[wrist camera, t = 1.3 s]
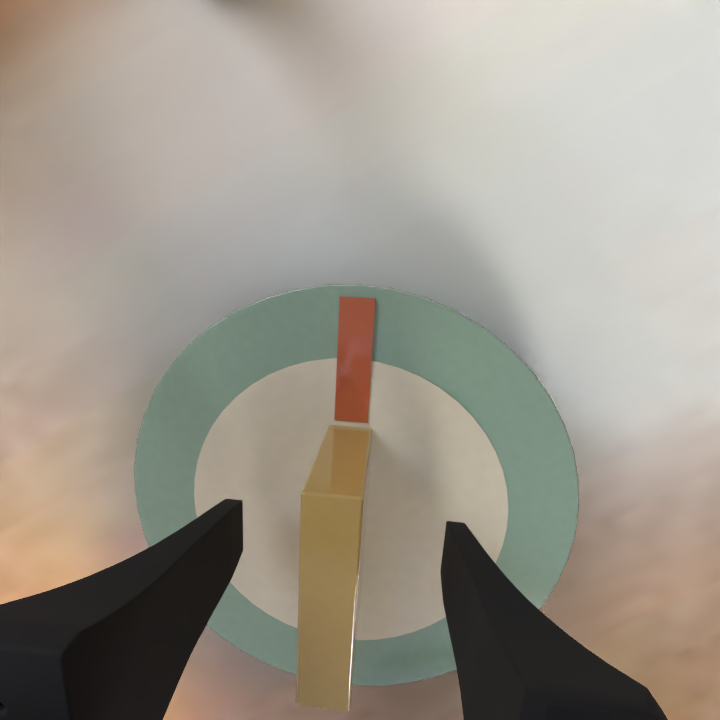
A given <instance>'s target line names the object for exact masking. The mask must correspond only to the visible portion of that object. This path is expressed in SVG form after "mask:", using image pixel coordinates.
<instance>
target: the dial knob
mask: <svg viewBox="0 0 720 720" xmlns="http://www.w3.org/2000/svg"><path fill="white" fill-rule="evenodd" d="M134 477H135V495H136V501H137V508H138V514H139V517H140V521H141V524H142V528H143V531H144V534H145V538H146V540H147V542H148V545H149V547H151V546H153V545H155V544H156V543H158V542H160V541H161V540H163V539H164V538H166V537H168V536H169V535H171V534H173V533H174V532H176V531H178V530H179V529H181V528H182V527H184V526H185V525H187V524H188V523H190V522H191V521H193V520H194V519H196V518H197V517H199V516H200V515H202V514H203V513H205V512H206V511H208V510H209V509H211V508H212V507H214V506H215V505H217V504H218V503H220V502H221V501H223V500H225V499H235V500H243V552H242V554H241V557H240V560H239V562H238V565H237V567H236V570H235V572H234V574H233V577H232V579H231V581H230V583H229V585H228V586H227V588H226V590H225V592H224V594H223V596H222V597H221V599H220V601H219V603H218V605H217V607H216V608H215V610H214V612H213V614H212V616H211V617H210V619H209V621H208V623H207V626H208V627H209V628H211V629H212V630H213V631H214V632H215V633H217V634H218V635H219V636H220V637H222V638H223V639H225V640H226V641H228V642H229V643H231V644H232V645H234V646H235V647H237V648H238V649H240V650H241V651H243V652H245V653H247V654H249V655H250V656H252V657H254V658H256V659H258V660H260V661H262V662H264V663H266V664H269V665H271V666H274V667H276V668H279V669H281V670H283V671H286V672H289V673H292V674H296V675H297V677H296V704H297V705H299V706H306V707H313V708H320V709H328V710H335V711H342V712H349V710H350V704H351V694H352V685H358V686H379V685H394V684H402V683H409V682H415V681H420V680H424V679H428V678H432V677H436V676H440V675H442V674H445V673H448V672H450V671H453V670H456V669H457V668H456V663H455V658H454V653H453V648H452V644H451V639H450V634H449V629H448V624H447V619H446V614H445V609H444V604H443V596H442V585H441V574H440V570H441V562H442V554H443V546H444V538H445V529H446V521H452V522H462V523H465V524H466V525H467V526H468V528H469V529H470V530H471V532H472V533H473V535H474V536H475V537H476V539H477V540H478V542H479V543H480V544H481V546H482V547H483V548H484V550H485V551H486V552H487V554H488V555H489V556H490V557H491V559H492V560H493V561H494V562H495V564H496V565H497V566H498V567H499V568H500V570H501V571H502V572H503V573H504V574H505V576H506V577H507V578H508V579H509V580H510V581H511V582H512V583H513V584H514V586H515V587H516V588H517V589H518V590H519V591H520V592H521V593H522V594H523V595H524V596H525V597H526V598H527V599H528V600H529V601H530V602H531V603H532V604H533V605H534V606H535V607H537V608H538V609H540V608H541V606H542V605H543V604H544V602H545V601H546V599H547V598H548V596H549V595H550V593H551V592H552V590H553V588H554V587H555V585H556V584H557V582H558V580H559V578H560V575H561V573H562V571H563V569H564V567H565V565H566V562H567V560H568V557H569V554H570V550H571V547H572V544H573V540H574V537H575V532H576V525H577V517H578V510H579V492H578V475H577V469H576V464H575V458H574V452H573V449H572V446H571V443H570V440H569V437H568V434H567V431H566V428H565V425H564V422H563V420H562V419H561V417H560V415H559V413H558V411H557V409H556V407H555V405H554V403H553V401H552V399H551V397H550V396H549V394H548V393H547V391H546V390H545V389H544V387H543V386H542V384H541V383H540V382H539V380H538V379H537V377H536V376H535V375H534V373H533V372H532V371H531V370H530V368H529V367H528V366H527V365H526V364H525V363H524V362H523V361H522V360H521V359H520V358H519V357H518V356H517V355H516V354H515V353H514V352H513V351H512V350H511V349H510V348H509V347H508V346H507V345H505V344H504V343H503V342H502V341H500V340H499V339H498V338H497V337H495V336H494V335H493V334H491V333H490V332H489V331H488V330H486V329H485V328H484V327H482V326H481V325H479V324H477V323H476V322H474V321H472V320H470V319H469V318H467V317H465V316H464V315H462V314H460V313H458V312H457V311H455V310H453V309H451V308H449V307H447V306H444V305H442V304H439V303H437V302H435V301H432V300H430V299H427V298H425V297H422V296H419V295H415V294H411V293H407V292H404V291H400V290H396V289H392V288H385V287H377V286H369V285H361V284H339V285H323V286H315V287H308V288H301V289H296V290H292V291H288V292H285V293H281V294H278V295H274V296H271V297H267V298H264V299H261V300H259V301H257V302H254V303H252V304H250V305H248V306H245V307H243V308H241V309H239V310H236V311H235V312H233V313H231V314H230V315H228V316H227V317H225V318H223V319H222V320H220V321H219V322H217V323H215V324H214V325H212V326H211V327H209V328H208V329H207V330H206V331H205V332H204V333H202V334H201V335H200V336H199V337H198V338H196V339H195V340H194V341H193V342H192V343H191V344H189V345H188V346H187V348H186V349H185V350H184V351H183V352H182V353H181V354H180V356H179V357H178V358H177V359H176V360H175V361H174V362H173V364H172V365H171V366H170V367H169V369H168V370H167V372H166V374H165V375H164V377H163V378H162V380H161V381H160V383H159V384H158V386H157V388H156V389H155V391H154V394H153V396H152V398H151V400H150V403H149V405H148V407H147V409H146V412H145V414H144V417H143V421H142V424H141V428H140V432H139V435H138V439H137V447H136V455H135V462H134Z"/></svg>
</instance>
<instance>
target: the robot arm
mask: <svg viewBox="0 0 720 720" xmlns="http://www.w3.org/2000/svg"><path fill="white" fill-rule="evenodd" d="M242 552H243V500H235V499H225V500H223V501H221V502H220V503H218V504H217V505H215V506H214V507H212V508H211V509H209V510H208V511H206V512H205V513H203V514H202V515H200V516H199V517H197V518H196V519H194V520H193V521H191V522H190V523H188V524H187V525H185V526H184V527H182V528H181V529H179V530H178V531H176V532H174V533H173V534H171V535H169V536H168V537H166V538H164V539H163V540H161V541H160V542H158V543H156V544H155V545H153V546H151V547H149V548H147V549H146V550H144V551H142V552H140V553H138V554H136V555H134V556H132V557H130V558H128V559H126V560H124V561H122V562H120V563H118V564H116V565H113V566H111V567H109V568H106V569H104V570H102V571H99V572H97V573H95V574H92V575H90V576H88V577H85V578H83V579H80V580H77V581H75V582H72V583H69V584H67V585H64V586H61V587H58V588H55V589H52V590H49V591H46V592H43V593H40V594H36V595H33V596H29V597H26V598H22V599H19V600H15V601H12V602H8V603H5V604H1V605H0V720H163V717H164V715H165V713H166V710H167V708H168V705H169V703H170V701H171V698H172V696H173V693H174V691H175V689H176V686H177V684H178V682H179V680H180V677H181V675H182V673H183V671H184V668H185V666H186V664H187V661H188V659H189V657H190V655H191V653H192V651H193V649H194V647H195V645H196V643H197V641H198V639H199V637H200V635H201V634H202V632H203V630H204V628H205V626H206V625H207V623H208V621H209V619H210V617H211V616H212V614H213V612H214V610H215V608H216V607H217V605H218V603H219V601H220V599H221V597H222V596H223V594H224V592H225V590H226V588H227V586H228V585H229V583H230V581H231V579H232V577H233V574H234V572H235V570H236V567H237V565H238V562H239V560H240V557H241V554H242ZM440 574H441V585H442V596H443V604H444V609H445V614H446V619H447V624H448V629H449V634H450V639H451V644H452V648H453V653H454V658H455V663H456V668H457V673H458V678H459V684H460V690H461V699H462V707H463V716H464V720H668V719H667V718H666V716H665V714H664V713H663V711H662V709H661V708H660V706H659V705H658V703H657V702H656V700H655V699H654V698H653V696H652V695H651V693H650V692H649V690H648V689H647V688H646V687H645V686H643V685H641V684H640V683H638V682H637V681H635V680H633V679H632V678H630V677H629V676H627V675H625V674H624V673H622V672H621V671H619V670H617V669H616V668H614V667H613V666H611V665H609V664H608V663H606V662H605V661H603V660H602V659H601V658H599V657H598V656H596V655H595V654H593V653H592V652H591V651H589V650H588V649H586V648H585V647H584V646H582V645H581V644H580V643H578V642H577V641H576V640H574V639H573V638H572V637H570V636H569V635H568V634H567V633H565V632H564V631H563V630H562V629H561V628H559V627H558V626H557V625H556V624H555V623H553V622H552V621H551V620H550V619H549V618H547V617H546V616H545V615H544V614H543V613H542V612H541V611H540V610H539V609H538V608H537V607H535V606H534V605H533V604H532V603H531V602H530V601H529V600H528V599H527V598H526V597H525V596H524V595H523V594H522V593H521V592H520V591H519V590H518V589H517V588H516V587H515V586H514V584H513V583H512V582H511V581H510V580H509V579H508V578H507V577H506V576H505V574H504V573H503V572H502V571H501V570H500V568H499V567H498V566H497V565H496V564H495V562H494V561H493V560H492V559H491V557H490V556H489V555H488V554H487V552H486V551H485V550H484V548H483V547H482V546H481V544H480V543H479V542H478V540H477V539H476V537H475V536H474V535H473V533H472V532H471V530H470V529H469V528H468V526H467V525H466V524H465V523H462V522H452V521H446V529H445V538H444V546H443V554H442V562H441V570H440Z"/></svg>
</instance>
